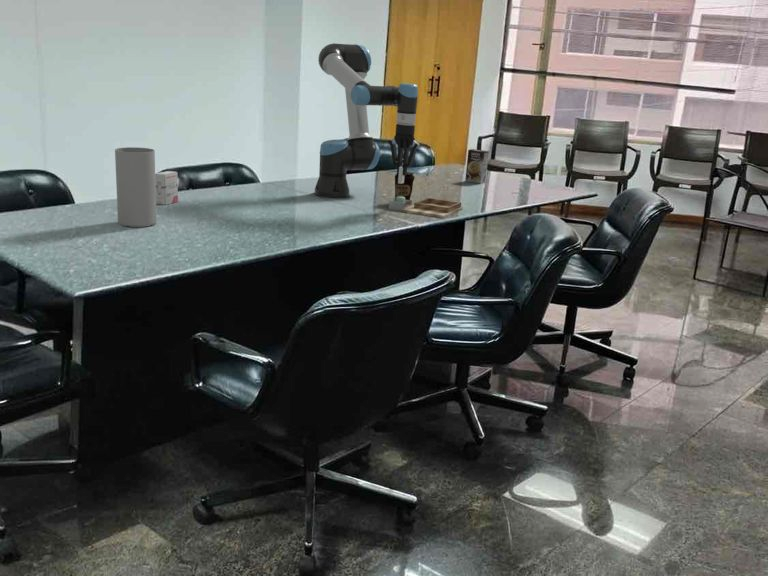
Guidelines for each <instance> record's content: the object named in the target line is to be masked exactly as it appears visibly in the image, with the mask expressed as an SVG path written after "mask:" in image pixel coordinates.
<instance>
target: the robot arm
mask: <svg viewBox="0 0 768 576" xmlns="http://www.w3.org/2000/svg"><path fill="white" fill-rule="evenodd" d="M318 65H319V68H320V69H321V70H322V71H323V72H324V73H325V74H326V75H328V76H332V77H333V78H334V79H335V80H336V82H338V83H339V84H340V85H341V86H342V87H343V88H344V91H345V101H346V111H347V122H348V132H349V133H348V134H349V136H348V137H347V138H346V139H328V140H325V141H323V142H322V143H321V144H320V146H319V147H320V149H319V168H318V169H319V172H318V173H319V174H318V175H319V176H318V179H317V182H316V185H315V187H314V195H316V196H318V197H324V198H337V199H338V198H347V197H349V196H350V187H349V184H348V180H347V171H360V170H361V171H365V170H372V169H374V168H375V167H376V166H377V165H378V163H379V162H380V161H379V160H380V147H379V145H378V143H377V142H374V137H373V136H371V134H370V131H369V129H370V128H369V120H368V110H367V109H368V108H367V107H368V106H381V107H382V106H385V107H388V106H389V107H390V106H391V107H397V110H396V119H395V120H396V121H395V122H396V125H395V135H394V137H393V138H391V139H389V140H388V144H389V146H390V151H391V159H392V165H395V166H396V174H397V175H399V176H398V183H399V184H402V183H404V176H405V175H406V174H407V172H408V168H409V167H412V166H413V163H414V161H415V157H416V154H417V150H418V149H419V147H420V146H421V144H420V143H419V142H417V141H416V139H415V133H416V132H415V131H416V126H415V124H416V121H417V120H416V118H417V117H416V115H417V107H418V98H419V97H418V96H419V94H418V93H419V92H418V91H419V87H418V85H417V84H414V83H404V82H402V83H399V85H398V86H395V85H384V86H382V85H371V84H369V83H368V82H367V81H366V80H365V79H366V77H367V76H368V72H369V71H370V70H371V68H372V67H371V66H372V57H371V53H370V51H369V49H368V48H367V47H365V46H363V45H359V44H350V43H349V44H348V43H346V44H345V43H334V42H333V43H330V44H326V45H325V46H324V47H323V48H322V49H321V50H320V52H319V55H318ZM396 145H397V146H396ZM411 147H412V148H411ZM410 149H411V151H410Z"/></svg>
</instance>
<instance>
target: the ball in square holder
mask: <svg viewBox="0 0 768 576" xmlns="http://www.w3.org/2000/svg"><path fill="white" fill-rule="evenodd" d="M412 203H413V201H412V200H411V199H410V200H406V199H405V202H400V201H396V198H393V199H390V200H388V209H389V210H392V211H398V210H399V212H402V209H406V208H408V207H411V206H412V205H413V204H412Z"/></svg>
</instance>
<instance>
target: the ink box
mask: <svg viewBox="0 0 768 576" xmlns="http://www.w3.org/2000/svg"><path fill="white" fill-rule="evenodd" d="M155 184H156V205H161V206H162V205H163V206H167V205H171V204H173V203H174V204H175V203H177V202H178V201H179V199H178V198H179V197H178V194H179V193H178V191H179V189H178V172H177V171H171V170H169V171H168V170H167V171H161V172H157V173H156V172H155Z"/></svg>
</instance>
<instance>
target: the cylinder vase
mask: <svg viewBox="0 0 768 576" xmlns="http://www.w3.org/2000/svg"><path fill="white" fill-rule="evenodd" d="M155 153H156V152H155V149H153V148H148V147H134V146H133V147H129V146H126V147H117V148H115V149H114V159H115V161H114V162H115V181H116V182H115V184H116V203H117V204H116V207H117V221H118V224H119V225H120V226H122V225H123V227H126V226H129V227H128V228H144V227H145V228H146V226H148V227H152V226H154V225H155V224H156V223H157V220H158V219H157V204H156V184H155V174H156V158H155V157H156V156H155V155H156V154H155ZM151 225H152V226H151Z"/></svg>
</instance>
